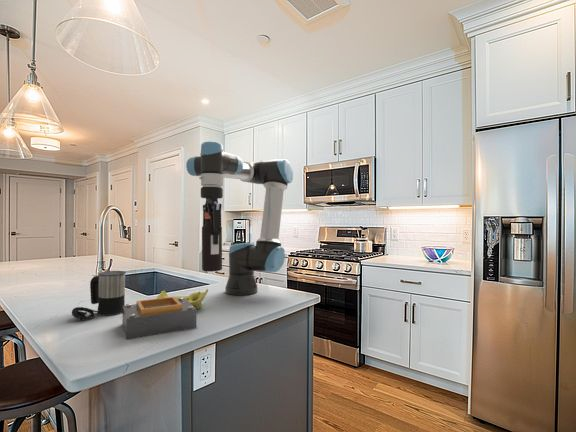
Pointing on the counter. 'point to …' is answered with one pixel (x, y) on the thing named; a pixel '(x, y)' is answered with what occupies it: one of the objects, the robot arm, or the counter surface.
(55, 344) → the counter surface
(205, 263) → the vinegar
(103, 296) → the milk frother
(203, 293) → the yellow-green irregular piece
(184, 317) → the gray fixture block
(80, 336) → the counter surface
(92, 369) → the counter surface
